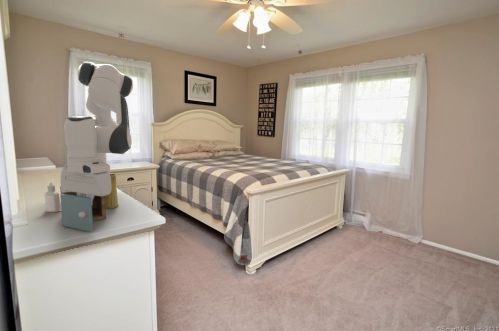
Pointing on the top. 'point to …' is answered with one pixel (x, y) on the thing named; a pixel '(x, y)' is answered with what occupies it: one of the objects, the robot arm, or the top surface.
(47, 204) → the eye dropper bottle
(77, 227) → the door
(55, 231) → the top surface
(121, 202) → the top surface
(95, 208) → the cabinet box
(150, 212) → the top surface
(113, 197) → the vase
